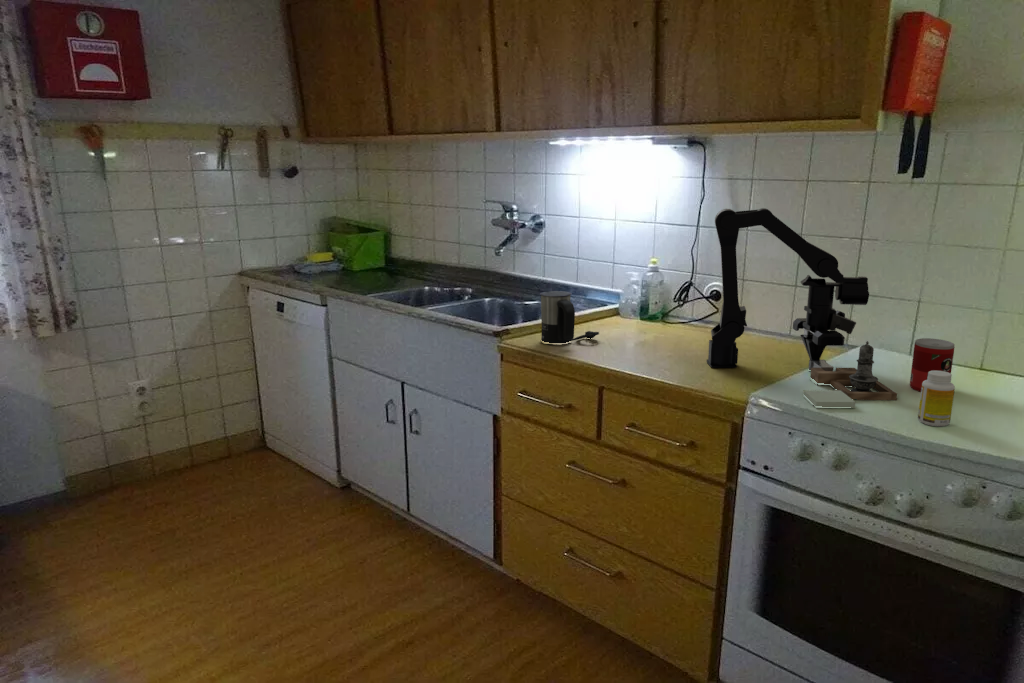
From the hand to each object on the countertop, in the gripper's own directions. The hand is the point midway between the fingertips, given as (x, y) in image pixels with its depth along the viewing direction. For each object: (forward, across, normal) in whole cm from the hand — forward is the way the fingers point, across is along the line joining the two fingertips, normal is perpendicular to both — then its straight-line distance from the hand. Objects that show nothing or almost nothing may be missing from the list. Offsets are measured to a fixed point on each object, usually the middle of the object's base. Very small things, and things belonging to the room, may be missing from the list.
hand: (814, 364), depth 178 cm
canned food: (+1, -16, -20) cm, 26 cm away
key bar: (+1, -5, 0) cm, 5 cm away
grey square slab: (+1, -26, +6) cm, 27 cm away
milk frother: (+2, +30, +60) cm, 67 cm away
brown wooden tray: (+1, -16, -3) cm, 17 cm away
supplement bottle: (+1, -38, -10) cm, 39 cm away
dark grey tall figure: (+1, -19, -4) cm, 19 cm away
